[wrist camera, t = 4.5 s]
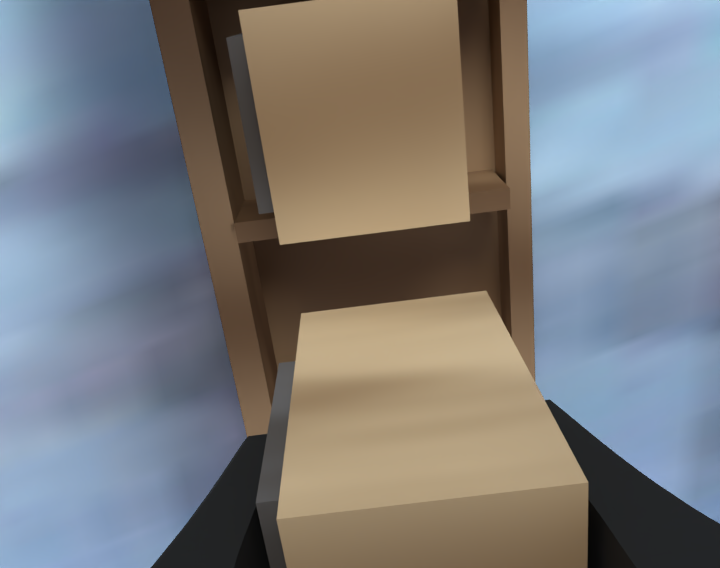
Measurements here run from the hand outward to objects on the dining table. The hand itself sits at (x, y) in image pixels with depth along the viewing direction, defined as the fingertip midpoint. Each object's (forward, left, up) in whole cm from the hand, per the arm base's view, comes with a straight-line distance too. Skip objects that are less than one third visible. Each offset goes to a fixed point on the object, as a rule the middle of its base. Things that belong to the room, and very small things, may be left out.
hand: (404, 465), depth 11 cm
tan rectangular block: (0, 0, -2) cm, 2 cm away
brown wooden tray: (0, 0, -9) cm, 9 cm away
